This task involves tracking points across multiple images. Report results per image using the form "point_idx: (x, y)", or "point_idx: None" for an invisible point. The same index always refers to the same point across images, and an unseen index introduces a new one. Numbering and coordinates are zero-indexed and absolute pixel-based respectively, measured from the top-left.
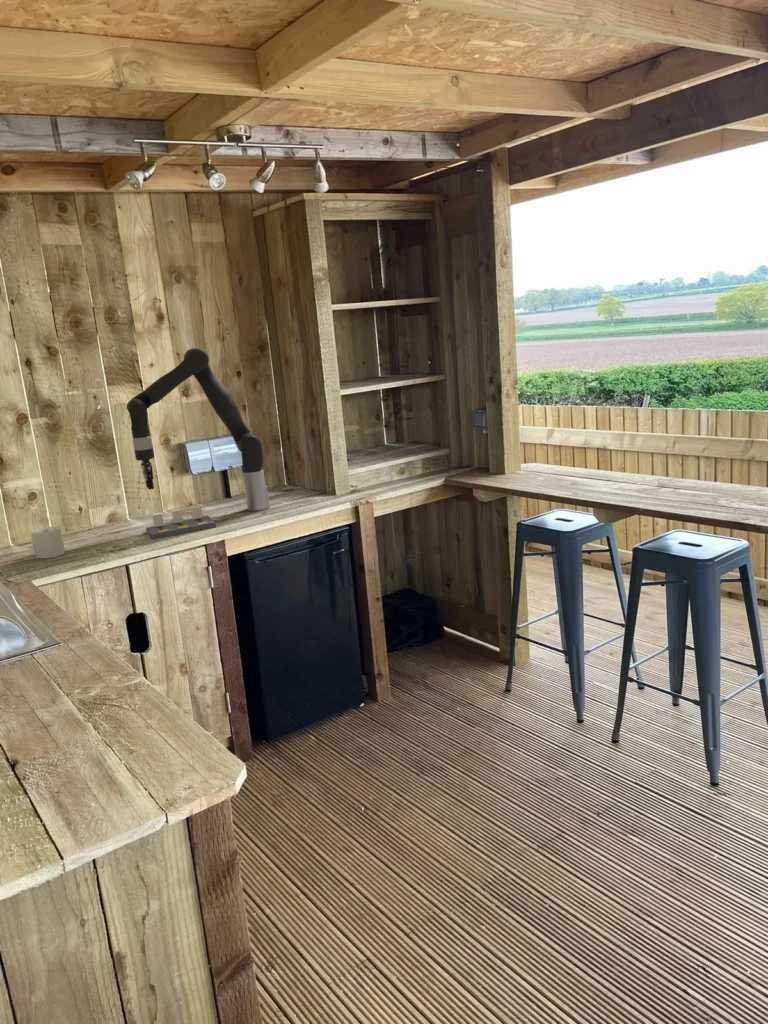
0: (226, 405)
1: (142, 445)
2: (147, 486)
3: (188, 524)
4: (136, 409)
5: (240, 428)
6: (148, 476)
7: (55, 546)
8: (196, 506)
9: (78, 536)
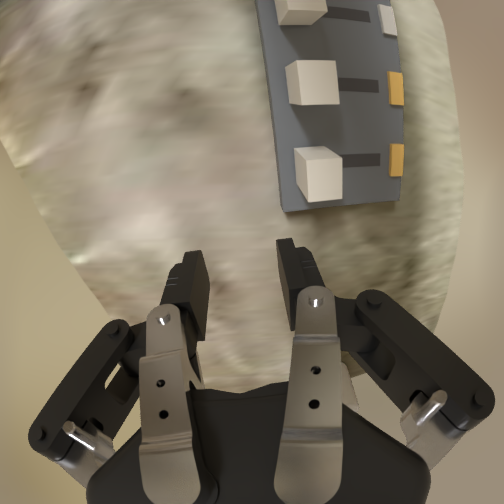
0: None
1: None
2: (208, 286)
3: (360, 58)
4: None
5: None
6: (186, 338)
7: (350, 380)
8: None
9: (205, 356)
